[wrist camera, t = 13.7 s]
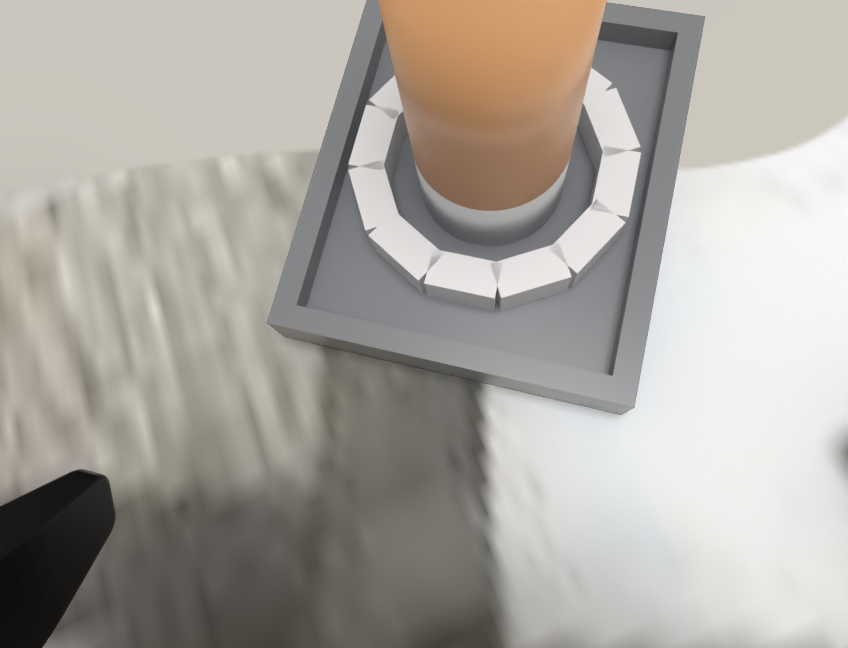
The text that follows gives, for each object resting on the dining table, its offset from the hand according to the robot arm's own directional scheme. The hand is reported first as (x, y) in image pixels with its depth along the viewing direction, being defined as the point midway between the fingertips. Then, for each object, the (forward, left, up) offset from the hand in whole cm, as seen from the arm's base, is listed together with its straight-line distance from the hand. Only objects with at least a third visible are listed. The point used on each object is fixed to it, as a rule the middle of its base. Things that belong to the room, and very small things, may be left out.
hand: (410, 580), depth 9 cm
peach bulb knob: (+8, +9, -13) cm, 17 cm away
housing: (+8, +9, -14) cm, 18 cm away
